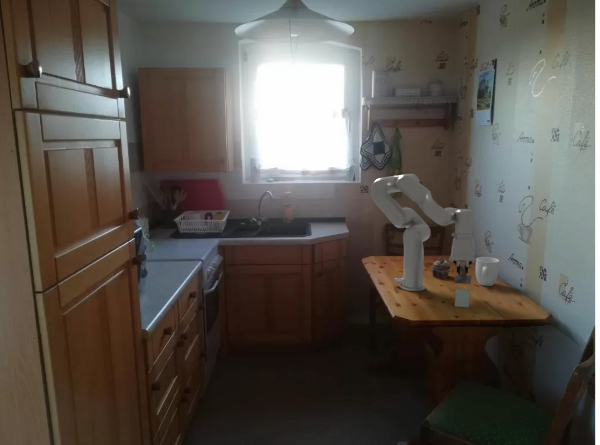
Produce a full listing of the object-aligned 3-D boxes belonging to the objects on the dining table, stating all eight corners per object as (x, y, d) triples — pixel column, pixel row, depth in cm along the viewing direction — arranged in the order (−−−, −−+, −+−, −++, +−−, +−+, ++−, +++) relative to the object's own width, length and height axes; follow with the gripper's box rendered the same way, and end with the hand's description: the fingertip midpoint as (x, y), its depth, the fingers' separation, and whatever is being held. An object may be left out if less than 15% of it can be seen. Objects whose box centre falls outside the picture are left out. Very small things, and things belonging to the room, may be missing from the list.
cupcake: (445, 273, 261) (446, 256, 259) (452, 278, 252) (453, 260, 250) (428, 273, 261) (429, 256, 259) (434, 279, 251) (435, 260, 249)
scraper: (454, 283, 217) (455, 274, 216) (453, 269, 228) (454, 261, 226) (470, 283, 216) (471, 275, 214) (468, 270, 226) (469, 262, 224)
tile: (454, 306, 210) (455, 289, 209) (454, 305, 212) (455, 288, 210) (468, 307, 209) (470, 290, 207) (468, 306, 210) (469, 289, 209)
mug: (494, 291, 231) (496, 265, 229) (471, 287, 237) (472, 262, 234) (498, 283, 244) (500, 258, 242) (476, 279, 249) (478, 255, 247)
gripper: (445, 236, 217) (444, 275, 220) (482, 238, 213) (481, 277, 216) (445, 233, 224) (444, 271, 227) (481, 234, 220) (479, 273, 223)
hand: (462, 274), depth 221 cm, fingers closed on scraper, 2 cm apart
